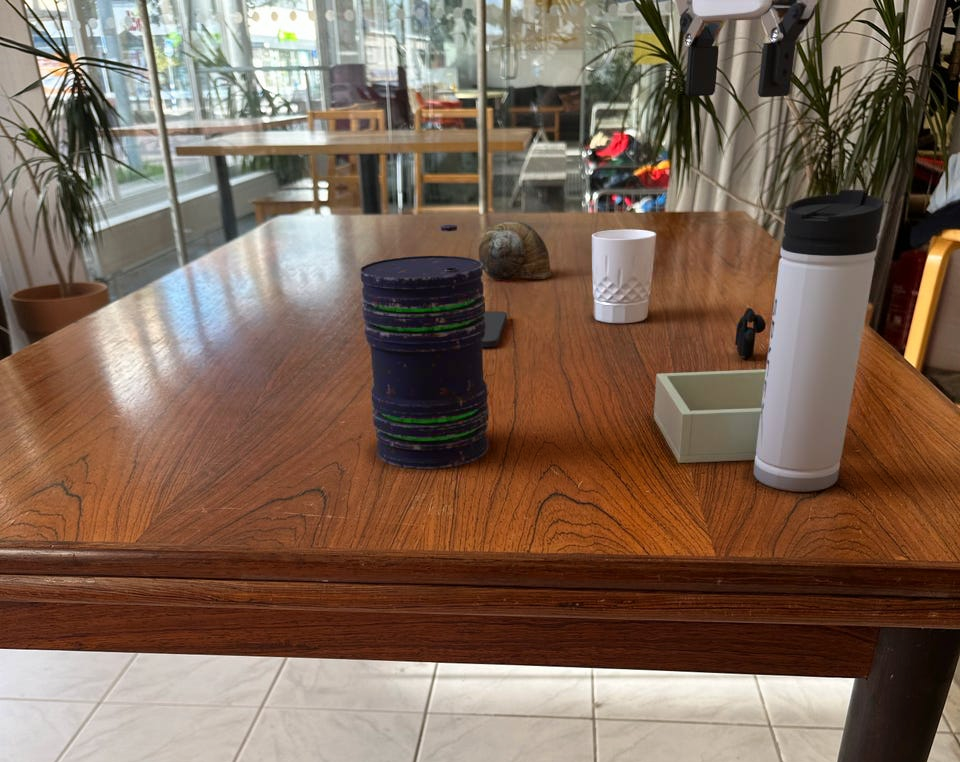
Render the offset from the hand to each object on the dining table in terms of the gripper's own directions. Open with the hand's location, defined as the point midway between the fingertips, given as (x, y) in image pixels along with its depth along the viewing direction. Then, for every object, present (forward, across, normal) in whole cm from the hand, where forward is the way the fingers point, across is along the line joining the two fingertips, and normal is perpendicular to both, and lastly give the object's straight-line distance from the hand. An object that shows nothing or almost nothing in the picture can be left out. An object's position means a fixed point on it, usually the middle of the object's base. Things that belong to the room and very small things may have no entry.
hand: (735, 96), depth 86 cm
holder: (+25, -17, +12) cm, 32 cm away
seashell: (+26, +57, -11) cm, 64 cm away
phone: (+25, +30, +12) cm, 41 cm away
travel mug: (+25, -27, +14) cm, 39 cm away
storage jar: (+25, -5, +35) cm, 43 cm away
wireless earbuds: (+25, +1, -7) cm, 26 cm away
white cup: (+25, +25, -7) cm, 36 cm away
